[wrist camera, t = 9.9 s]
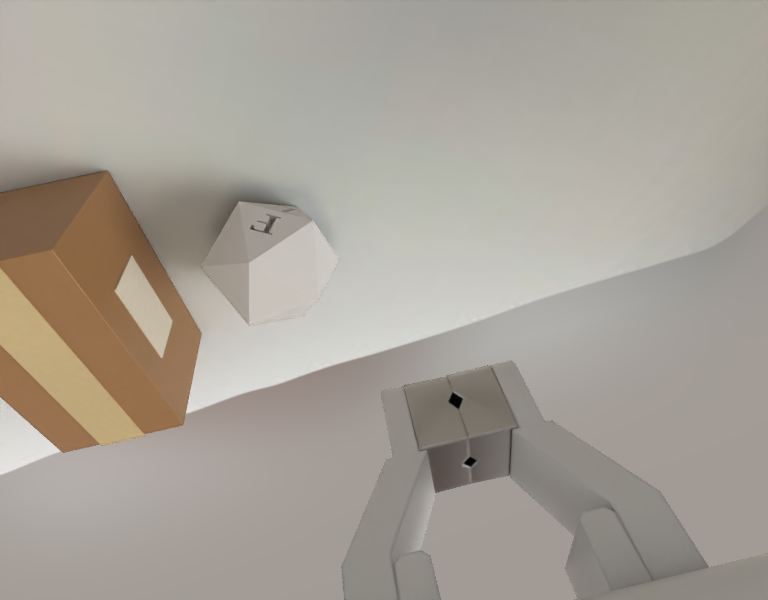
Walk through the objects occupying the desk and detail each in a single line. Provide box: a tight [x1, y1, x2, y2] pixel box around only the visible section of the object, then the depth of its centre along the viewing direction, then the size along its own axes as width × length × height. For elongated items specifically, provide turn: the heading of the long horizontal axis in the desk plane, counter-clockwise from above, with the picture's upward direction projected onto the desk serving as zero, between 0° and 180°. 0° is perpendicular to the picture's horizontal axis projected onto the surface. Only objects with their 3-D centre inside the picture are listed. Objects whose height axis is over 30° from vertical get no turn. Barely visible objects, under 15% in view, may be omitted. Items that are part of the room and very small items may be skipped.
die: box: [201, 201, 339, 326], centre depth 34 cm, size 8×9×10 cm
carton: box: [0, 171, 201, 453], centre depth 32 cm, size 9×16×10 cm, turn 8°
